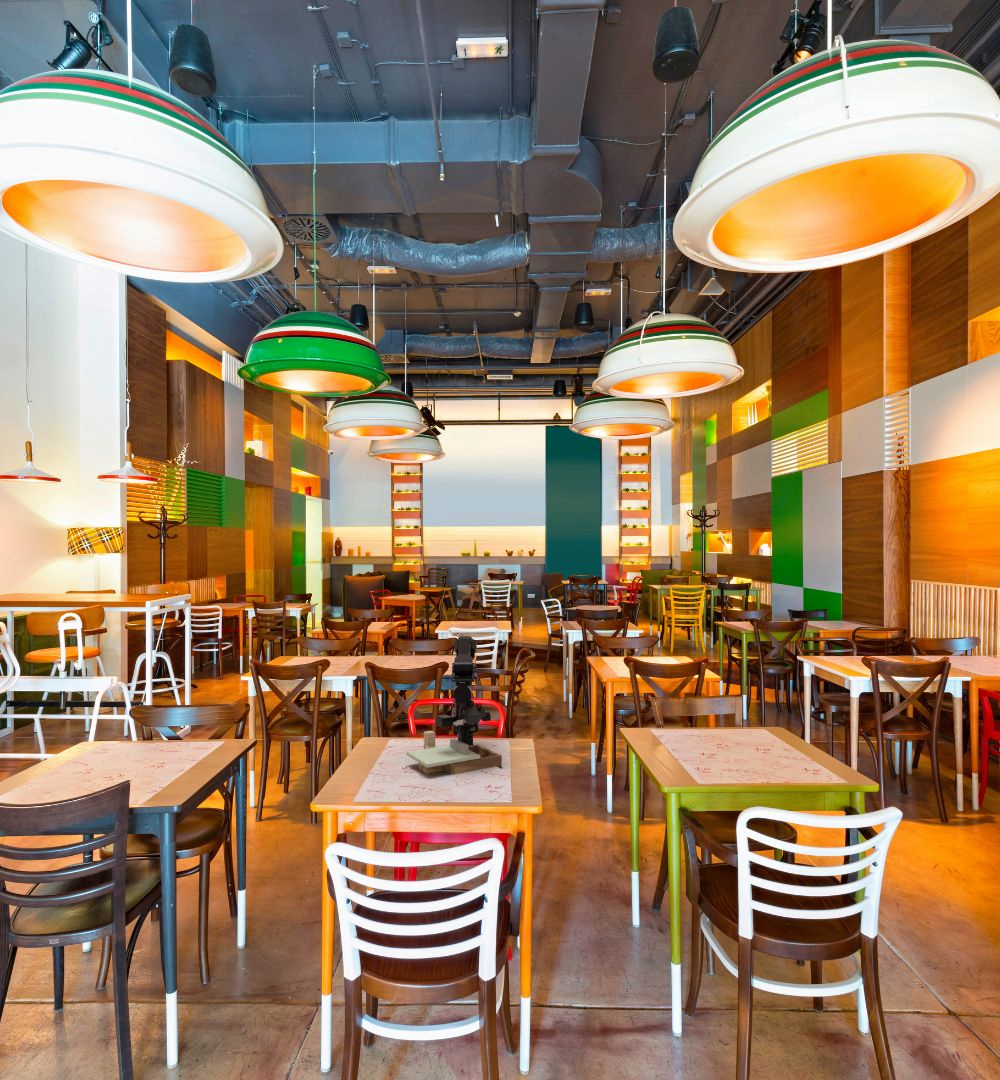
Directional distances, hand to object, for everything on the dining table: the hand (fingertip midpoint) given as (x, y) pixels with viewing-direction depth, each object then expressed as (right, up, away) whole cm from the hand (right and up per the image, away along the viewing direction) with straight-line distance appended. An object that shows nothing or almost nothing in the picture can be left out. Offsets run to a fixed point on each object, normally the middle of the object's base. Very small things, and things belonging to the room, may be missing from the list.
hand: (463, 744), depth 221 cm
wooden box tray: (-2, -7, -2) cm, 8 cm away
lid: (-6, -3, -4) cm, 8 cm away
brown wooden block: (-12, -8, +10) cm, 18 cm away
